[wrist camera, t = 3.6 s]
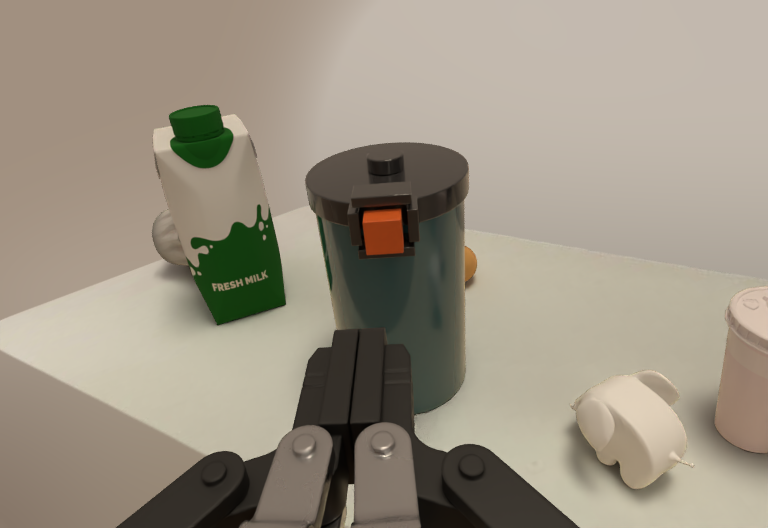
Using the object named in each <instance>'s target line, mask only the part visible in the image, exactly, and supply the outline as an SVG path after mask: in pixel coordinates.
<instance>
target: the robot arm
mask: <svg viewBox="0 0 768 528" xmlns="http://www.w3.org/2000/svg"><path fill="white" fill-rule="evenodd" d="M348 484H354V522H352V524H351V528H579V527H578V526H577V525H576V524H575V523H574V522H573V521H571V520H570V519H569V518H568V517H567V516H566V515H564V514H563V513H562V512H561V511H560V510H559V509H557V508H556V507H555V506H554V505H553V504H552V503H551V502H549V501H548V500H547V499H546V498H545V497H544V496H542V495H541V494H540V493H539V492H538V491H537V490H536V489H534V488H533V487H532V486H531V485H530V484H529V483H527V482H526V481H525V480H524V479H523V478H522V477H521V476H519V475H518V474H517V473H516V472H515V471H514V470H512V469H511V468H510V467H509V466H508V465H507V464H506V463H504V462H503V461H502V460H501V459H500V458H499V457H497V456H496V455H495V454H494V453H493V452H491V451H490V450H489V449H487V448H485V447H482V446H480V445H475V444H464V445H460V446H457V447H455V448H453V449H452V450H450V451H449V452H448V453H447V452H444V451H440V450H436V449H433V448H431V447H429V446H427V445H425V444H424V443H422V442H421V441H420V440H419V439H418V438H417V436H416V435H415V433H414V396H413V381H412V369H411V357H410V354H409V352H408V351H407V349H406V348H405V346H404V344H388V345H387V336H386V329H385V327H381V328H362V329H361V330H360V329H344V330H335V332H334V336H333V342H332V347H328V348H318V349H317V350H316V351H315V353H314V354H313V355H312V356H311V358H310V359H309V360H308V364H307V369H306V373H305V377H304V382H303V388H302V390H301V394H300V399H299V403H298V407H297V412H296V416H295V420H294V425H293V428H292V431H290V432H289V433H287V434H286V435H285V436H284V437H283V438H282V440H281V441H280V443H279V445H278V448H277V449H276V450H274V451H272V452H270V453H268V454H266V455H263V456H260V457H257V458H254V459H251V460H248V461H245V462H243V460H242V458H241V457H240V456H239V455H237V454H236V453H233V452H229V451H221V452H216V453H213V454H210V455H208V456H206V457H204V458H203V459H201V460H200V461H199V462H197V463H196V464H195V465H194V466H192V467H191V468H190V469H189V470H187V471H186V472H185V473H184V474H182V475H181V476H180V477H179V478H177V479H176V480H175V481H174V482H172V483H171V484H170V485H169V486H167V487H166V488H165V489H164V490H163V491H161V492H160V493H159V494H158V495H156V496H155V497H154V498H152V499H151V500H150V501H149V502H148V503H146V504H145V505H144V506H142V507H141V508H140V509H139V510H137V511H136V512H135V513H134V514H132V515H131V516H130V517H129V518H127V519H126V520H125V521H124V522H122V523H121V524H120V525H119V526H117V527H116V528H344V526H345V521H346V515H347V507H346V501H347V491H348Z"/></svg>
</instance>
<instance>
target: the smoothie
mask: <svg viewBox="0 0 768 528" xmlns="http://www.w3.org/2000/svg"><path fill="white" fill-rule="evenodd" d="M725 320H726V322H727V325H728V327H729V330H728V336H727V343H726V349H725V356H724V362H723V369H722V375H721V381H720V388H719V394H718V401H717V407H716V413H715V420H714V422H715V426H716V429H717V430H718V432H719V433H720V434H721V435H722V436H723V437H724V438H725V439H726V440H727V441H728V442H730V443H731V444H733V445H735V446H737V447H739V448H741V449H743V450H746V451H750V452H754V453H768V286H762V287H753V288H748V289H745V290H742V291H740V292H738V293H736V294H735V295H734V296H733V297H732V299H731V301H730V304H729V307H728V308H727V309H726V311H725Z"/></svg>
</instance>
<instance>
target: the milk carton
mask: <svg viewBox="0 0 768 528" xmlns="http://www.w3.org/2000/svg"><path fill="white" fill-rule="evenodd" d="M169 119H170V123H171V126H169V127H163V128H158V129H154V135H153V136H152V140H153V151H154V158H155V165H156V169H157V173H158V177H159V179H160V178H161V183H162V188H163V191H164V195H165V199H166V201H167V205H168V207H169V210H170V213H171V216H172V219H173V222H174V225H175V228H176V230H177V233H178V236H179V239H180V242H181V245H182V248H183V250H184V253H185V256H186V259H187V262H188V265H189V267H190V270H191V273H192V275H193V278H194V280H195V282H196V284H197V286H198V288H199V290H200V292H201V294H202V296H203V298H204V300H205V302H206V304H207V305H208V307H209V309H210V311H211V313H212V315H213V317H214V319H215V321H216V323H217V325H219V324H223V323H226V322H229V321H233V320H236V319H239V318H243V317H246V316H249V315H252V314H256V313H259V312H262V311H266V310H269V309H272V308H275V307H279V306H282V305H285V304H286V302H285V293H284V283H283V274H282V265H281V258H280V253H279V247H278V243H277V238H276V234H275V230H274V225H273V221H272V217H271V213H270V208H269V204H268V200H267V196H266V192H265V188H264V183H263V179H262V175H261V172H260V169H259V166H258V163H257V160H256V158H257V154H256V151H255V147H254V144H253V142H252V140H251V138H250V135H249V133H248V131H247V130H246V128H245V127H244V125H243V123H242V121H241V119H239V118H238V117H237V116H236V115H235V114H233V115H228V116H222V117H221V114H220V110H219V108H218V107H217V106H215V105H201V106H193V107H188V108H184V109H180V110H177V111H175V112H173V113H171V114H170V115H169ZM155 155H156V156H155ZM156 160H157V161H156ZM157 164H158V165H157ZM158 169H159V170H158Z"/></svg>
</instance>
